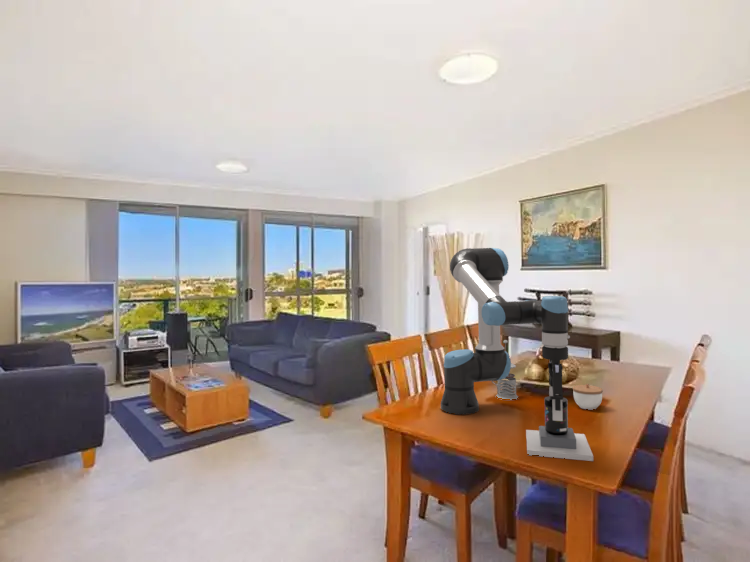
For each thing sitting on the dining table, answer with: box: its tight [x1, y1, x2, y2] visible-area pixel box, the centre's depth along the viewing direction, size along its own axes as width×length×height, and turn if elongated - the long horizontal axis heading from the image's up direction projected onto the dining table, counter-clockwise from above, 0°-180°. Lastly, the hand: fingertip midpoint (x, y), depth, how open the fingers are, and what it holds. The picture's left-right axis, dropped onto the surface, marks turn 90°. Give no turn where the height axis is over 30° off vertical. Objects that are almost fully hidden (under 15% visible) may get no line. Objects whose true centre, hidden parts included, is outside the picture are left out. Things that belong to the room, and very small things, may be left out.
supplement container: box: [543, 396, 569, 435], centre depth 140 cm, size 7×7×10 cm
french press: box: [491, 339, 519, 401], centre depth 197 cm, size 10×12×25 cm
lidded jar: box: [572, 383, 604, 411], centre depth 179 cm, size 11×11×9 cm
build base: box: [525, 425, 594, 462], centre depth 140 cm, size 18×18×4 cm
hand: (555, 413), depth 141 cm, fingers open, 13 cm apart
